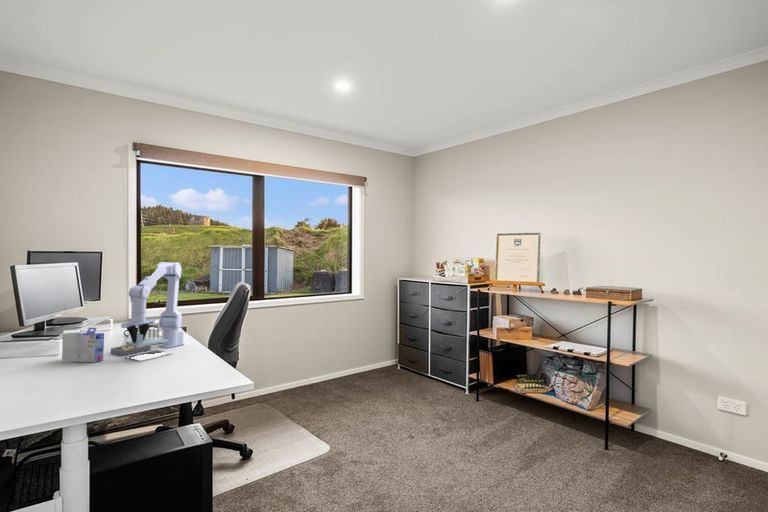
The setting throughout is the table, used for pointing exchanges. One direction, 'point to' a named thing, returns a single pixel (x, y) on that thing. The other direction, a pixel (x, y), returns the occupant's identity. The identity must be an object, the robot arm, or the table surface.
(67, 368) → the table surface
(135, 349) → the tub
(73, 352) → the small box
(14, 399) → the table surface
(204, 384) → the table surface
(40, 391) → the table surface
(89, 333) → the ink cartridge box
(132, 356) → the mat
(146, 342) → the lid
